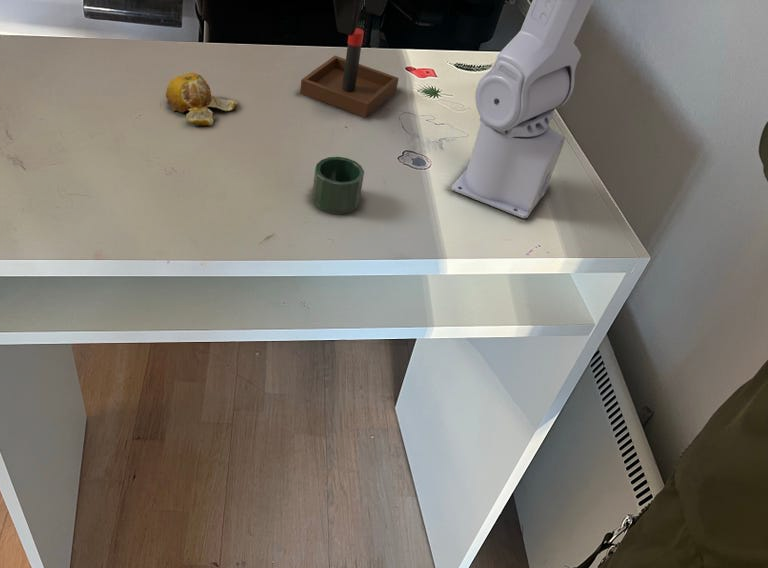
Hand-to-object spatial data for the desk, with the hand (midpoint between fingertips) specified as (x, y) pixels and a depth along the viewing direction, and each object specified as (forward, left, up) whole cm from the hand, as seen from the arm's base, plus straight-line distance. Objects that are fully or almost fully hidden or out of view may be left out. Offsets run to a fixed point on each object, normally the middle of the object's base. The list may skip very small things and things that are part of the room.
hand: (360, 22), depth 96 cm
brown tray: (+1, -1, -10) cm, 10 cm away
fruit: (+14, +16, -10) cm, 24 cm away
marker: (+1, -1, -10) cm, 9 cm away
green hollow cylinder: (-10, +22, -10) cm, 27 cm away
